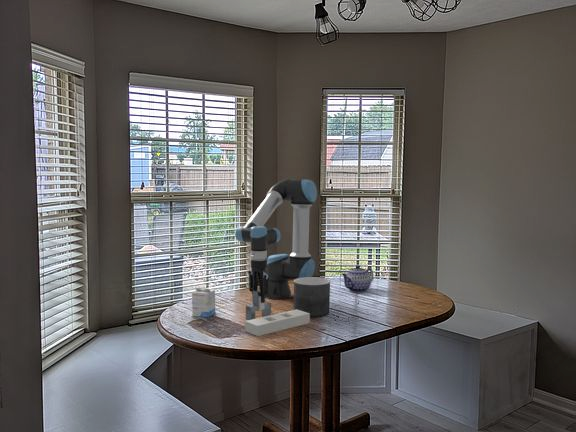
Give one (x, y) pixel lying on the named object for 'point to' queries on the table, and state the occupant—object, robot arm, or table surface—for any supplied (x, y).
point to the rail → (277, 322)
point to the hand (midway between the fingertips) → (258, 308)
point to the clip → (257, 307)
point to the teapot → (358, 279)
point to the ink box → (203, 302)
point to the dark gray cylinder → (312, 296)
